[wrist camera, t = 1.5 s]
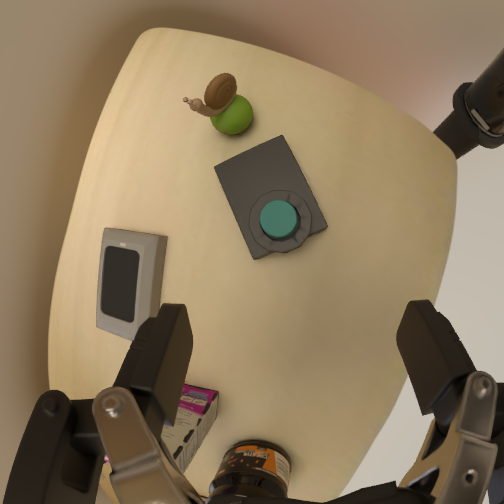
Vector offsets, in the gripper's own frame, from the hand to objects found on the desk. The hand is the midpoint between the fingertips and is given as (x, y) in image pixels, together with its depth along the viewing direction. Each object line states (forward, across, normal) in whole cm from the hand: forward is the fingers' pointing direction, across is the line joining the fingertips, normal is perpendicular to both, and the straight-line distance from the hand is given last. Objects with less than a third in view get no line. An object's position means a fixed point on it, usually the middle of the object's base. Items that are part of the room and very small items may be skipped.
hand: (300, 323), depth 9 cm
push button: (+20, 0, +5) cm, 21 cm away
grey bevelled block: (+23, +20, +16) cm, 34 cm away
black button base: (+26, +1, +5) cm, 26 cm away
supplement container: (+7, +2, +38) cm, 39 cm away
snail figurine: (+32, +5, -4) cm, 33 cm away
